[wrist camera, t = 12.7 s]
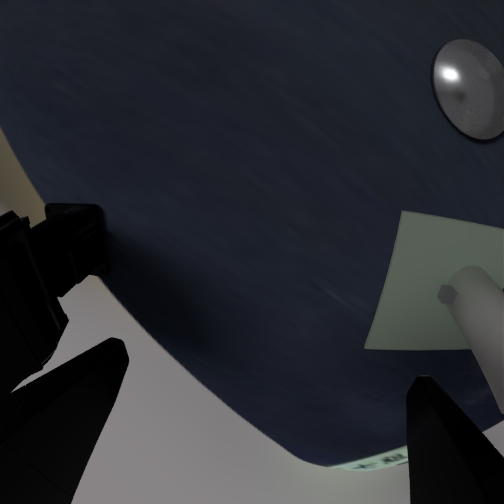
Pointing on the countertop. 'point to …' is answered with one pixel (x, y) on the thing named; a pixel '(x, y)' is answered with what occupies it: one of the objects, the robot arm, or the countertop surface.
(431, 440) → the robot arm
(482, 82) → the grey shallow disc
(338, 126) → the countertop surface
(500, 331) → the grey rounded post
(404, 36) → the countertop surface
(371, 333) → the mat
